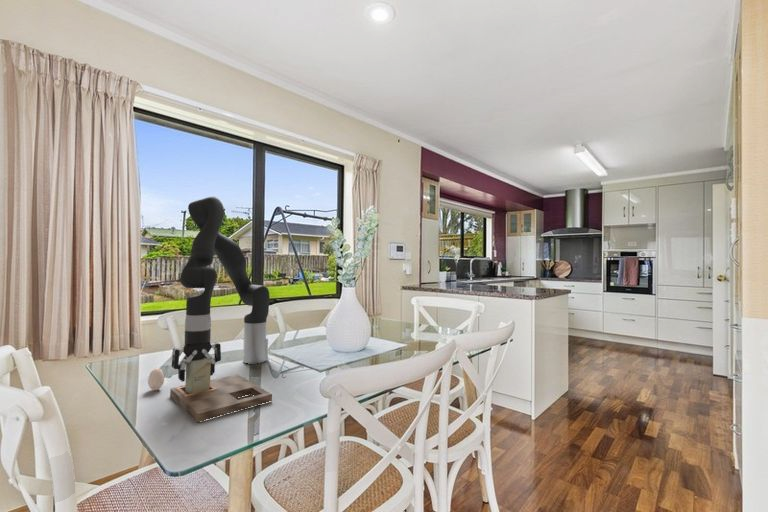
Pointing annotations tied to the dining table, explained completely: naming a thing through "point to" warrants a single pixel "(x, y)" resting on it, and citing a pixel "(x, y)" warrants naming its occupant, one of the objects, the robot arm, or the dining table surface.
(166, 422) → the dining table surface
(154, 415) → the dining table surface
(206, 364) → the skincare box
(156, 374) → the egg
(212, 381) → the socket board
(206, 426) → the dining table surface
